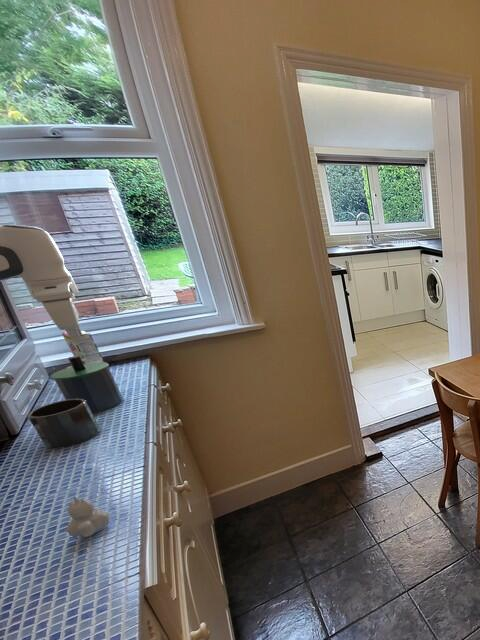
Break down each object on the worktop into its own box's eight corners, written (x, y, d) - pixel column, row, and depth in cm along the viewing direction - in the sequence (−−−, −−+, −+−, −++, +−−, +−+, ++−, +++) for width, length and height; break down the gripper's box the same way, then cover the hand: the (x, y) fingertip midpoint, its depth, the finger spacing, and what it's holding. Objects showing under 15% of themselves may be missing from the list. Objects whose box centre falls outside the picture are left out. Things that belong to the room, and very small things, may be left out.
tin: (68, 419, 118) (48, 382, 114) (79, 404, 127) (60, 370, 122) (119, 407, 124) (102, 372, 119) (126, 394, 133) (110, 361, 128)
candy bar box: (82, 375, 151) (60, 332, 144) (100, 370, 155) (79, 328, 148) (93, 380, 145) (71, 336, 139) (111, 375, 149) (90, 332, 142)
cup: (39, 453, 101) (20, 422, 98) (53, 435, 109) (35, 406, 106) (95, 440, 106) (78, 409, 103) (104, 424, 114) (89, 395, 111)
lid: (46, 385, 113) (36, 368, 111) (59, 372, 123) (51, 355, 121) (105, 374, 119) (96, 358, 117) (113, 362, 129) (106, 347, 127)
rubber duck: (115, 516, 79) (96, 482, 76) (112, 535, 74) (91, 500, 71) (76, 529, 76) (55, 495, 73) (70, 551, 71) (47, 515, 68)
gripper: (39, 287, 114) (63, 334, 120) (33, 296, 100) (61, 349, 106) (71, 283, 118) (92, 329, 124) (69, 292, 104) (94, 343, 110)
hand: (78, 339), depth 115 cm, fingers open, 8 cm apart
